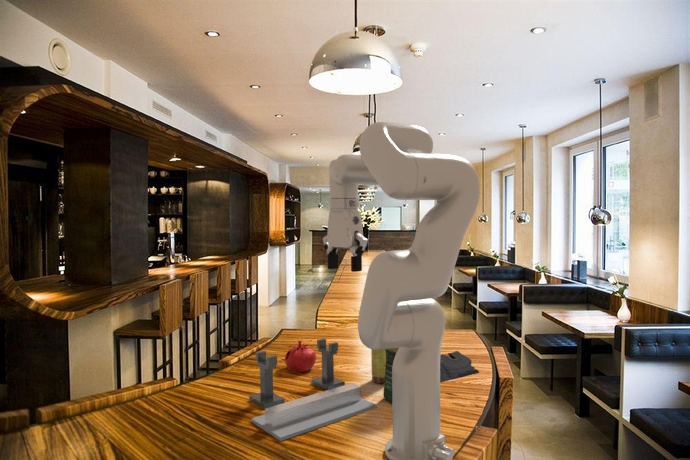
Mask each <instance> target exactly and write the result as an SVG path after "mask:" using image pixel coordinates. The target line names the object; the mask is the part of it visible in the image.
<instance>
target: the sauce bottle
mask: <svg viewBox="0 0 690 460" xmlns="http://www.w3.org/2000/svg"><path fill="white" fill-rule="evenodd" d="M370 351H371V352H370V353H371V379H372V381H373V383H377V384H383V385H384V380H385V369H386V350H372V349H370Z"/></svg>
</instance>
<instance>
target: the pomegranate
mask: <svg viewBox="0 0 690 460" xmlns="http://www.w3.org/2000/svg"><path fill="white" fill-rule="evenodd" d="M308 346H310V347H312V345H310V344H307V343H306V344H305V343H303V344H302V340H298V341H297V343H296V346H295V345H290V346H288V348H290V349H288V351H287V352H286V354H285V357H284V362H285V366H286V368H287V369H288V370H289V371H291V372H293V373H306V372H308V371H310V370H311V369H313V368H314V366H315V364H316V361H317V355H316V352H315V350H313V349H312V348H310V347H308Z"/></svg>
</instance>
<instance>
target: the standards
mask: <svg viewBox="0 0 690 460" xmlns="http://www.w3.org/2000/svg"><path fill="white" fill-rule="evenodd" d="M316 344H317V345H316V348H317V352H320V353H321V376H318V377H314V378H311V379H310V380H311V382H310V383H311V384H312V385H315V386H317V387H319V388H321V389H324V391H327V390H330V389H334V388H337V387H341V386H344V385H346V384H345V383H346V382H345V381H344V380H342V379H339V378H336V377H334V371H335V370H334V368H335V367H334V366H335V365H334V355H338V352H339V342H336V341H334V342H330V343H328V346H327V338H324V337H323V338H319V339H316ZM255 362H256V365H257V366H258V367H259V383H260V387H259V388H260V390H259V391H260V392H257V393H255V394H254V393H253V394H250V395H248V400H249V401H250V402H251V403H253V404H255V405H257V406H259V407H260V408H262V409H263V410H265V408H269V407H272V406H276V405H279V404H283V403H286V398H284V397H283V396H280V395H279V394H277V393H275V392H274V369H277V366H278V356H277V355H269V356H267V351H266V350H260V351H255Z"/></svg>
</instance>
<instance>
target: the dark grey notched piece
mask: <svg viewBox="0 0 690 460" xmlns="http://www.w3.org/2000/svg"><path fill="white" fill-rule="evenodd" d="M479 373H480V370H479V369H476V367H474V366H472V359H471V358H470V357H468V356H466V355H464V354H462V353H461V352H460V351H458V350H455V351H453V352H449V353H447V355H446V354H443V353H442V354H441V355H440V383H445V382H449V381H452V380H457V379H460V378H465V377H468V376H473V375H476V374H479Z"/></svg>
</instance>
